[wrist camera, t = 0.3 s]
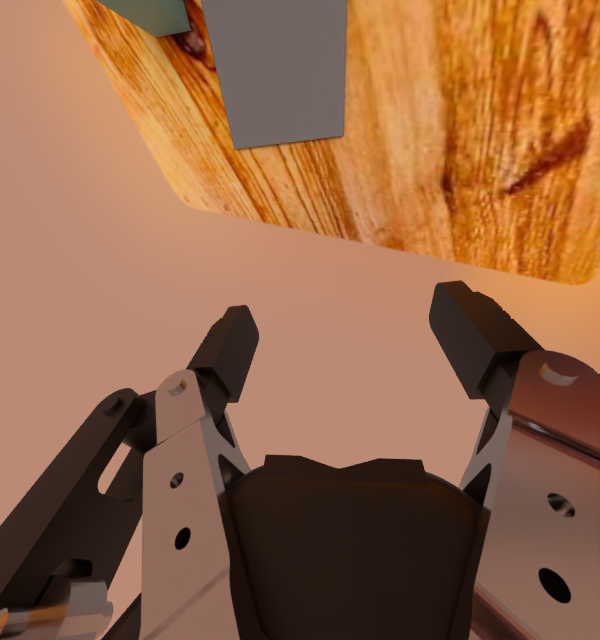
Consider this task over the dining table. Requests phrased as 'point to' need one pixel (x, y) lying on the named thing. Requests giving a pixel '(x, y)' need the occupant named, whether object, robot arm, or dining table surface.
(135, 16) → the block
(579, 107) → the dining table surface
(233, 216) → the dining table surface
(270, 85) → the mat
